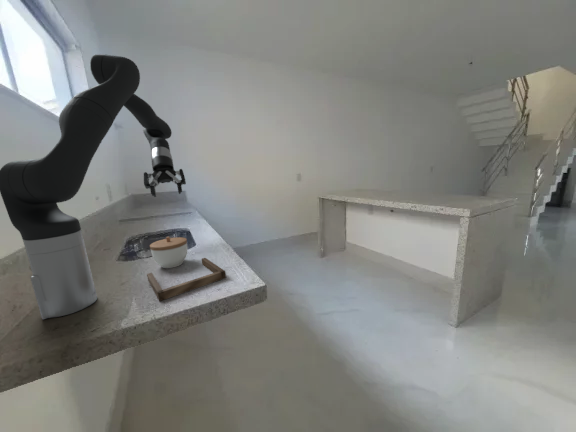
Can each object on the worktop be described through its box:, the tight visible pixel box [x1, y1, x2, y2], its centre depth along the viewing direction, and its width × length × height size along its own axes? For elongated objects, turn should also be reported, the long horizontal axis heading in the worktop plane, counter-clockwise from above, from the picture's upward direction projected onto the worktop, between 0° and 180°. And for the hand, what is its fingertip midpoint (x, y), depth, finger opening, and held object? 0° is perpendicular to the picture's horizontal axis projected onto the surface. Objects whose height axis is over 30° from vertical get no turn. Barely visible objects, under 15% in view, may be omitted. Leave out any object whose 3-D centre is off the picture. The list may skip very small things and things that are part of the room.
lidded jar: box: [149, 236, 188, 269], centre depth 76 cm, size 11×11×9 cm
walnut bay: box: [146, 257, 227, 302], centre depth 65 cm, size 16×15×2 cm
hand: (167, 194), depth 89 cm, fingers open, 8 cm apart
